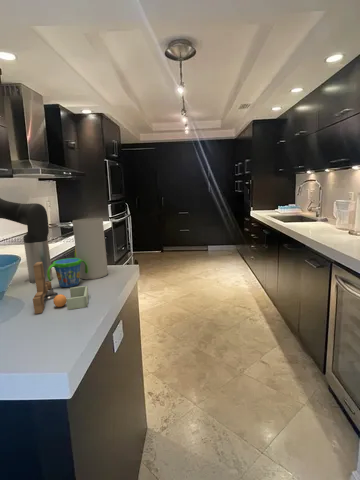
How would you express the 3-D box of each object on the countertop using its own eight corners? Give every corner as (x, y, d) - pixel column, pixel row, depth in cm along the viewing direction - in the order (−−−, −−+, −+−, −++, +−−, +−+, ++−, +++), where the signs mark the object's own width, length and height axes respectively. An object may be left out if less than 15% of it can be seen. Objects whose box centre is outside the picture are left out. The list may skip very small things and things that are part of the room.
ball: (55, 305, 97) (53, 293, 97) (68, 303, 98) (66, 292, 98) (53, 309, 94) (51, 297, 93) (66, 307, 95) (65, 295, 94)
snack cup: (85, 278, 128) (83, 255, 126) (93, 283, 119) (90, 259, 117) (46, 286, 119) (43, 261, 118) (51, 292, 110) (48, 266, 109)
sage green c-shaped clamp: (71, 297, 104) (70, 287, 104) (88, 294, 106) (87, 285, 105) (67, 309, 93) (66, 299, 92) (87, 307, 94) (85, 296, 94)
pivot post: (38, 295, 108) (37, 287, 108) (59, 292, 110) (58, 285, 110) (34, 301, 102) (33, 294, 101) (56, 298, 103) (55, 291, 103)
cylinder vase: (90, 271, 139) (84, 218, 135) (113, 272, 135) (108, 217, 131) (72, 279, 127) (66, 221, 123) (97, 280, 123) (91, 221, 119)
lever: (42, 295, 107) (37, 258, 105) (53, 294, 108) (48, 257, 106) (31, 314, 90) (25, 270, 88) (44, 312, 91) (38, 269, 89)
